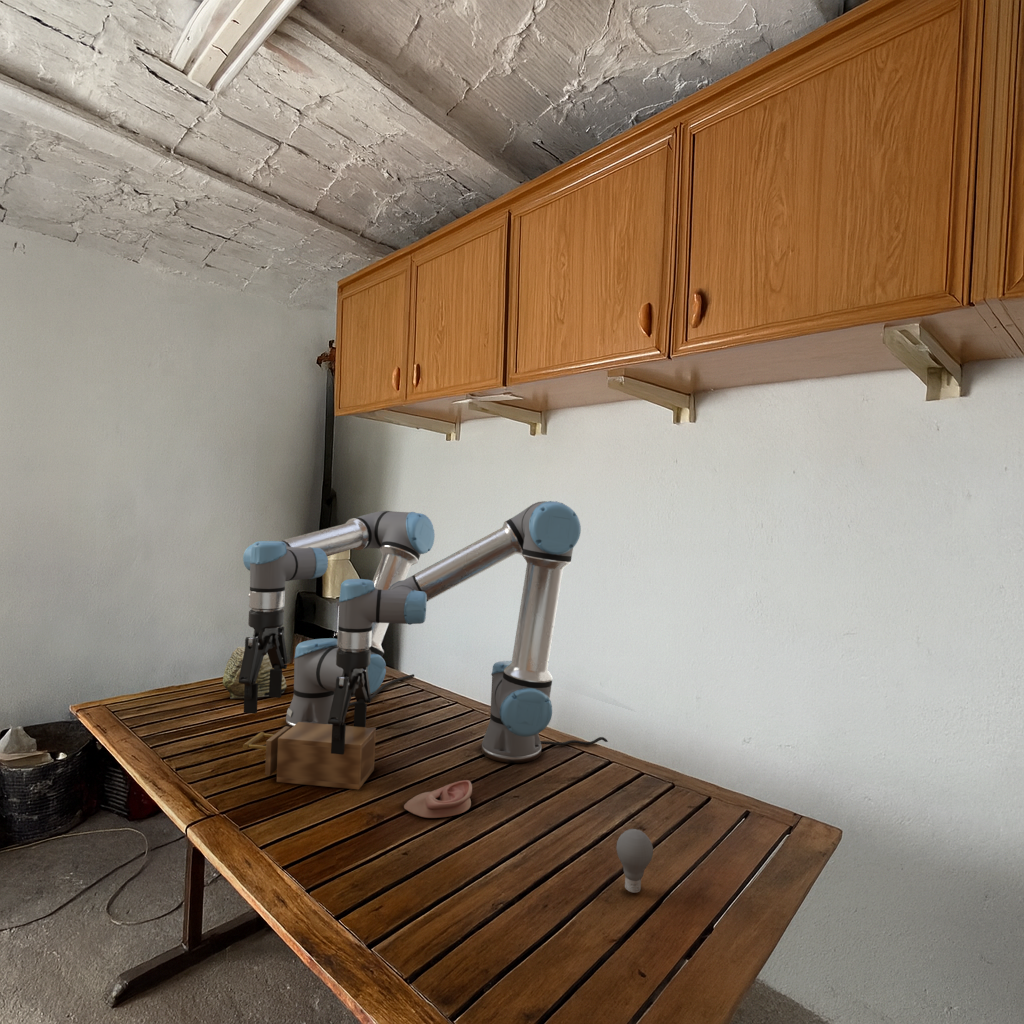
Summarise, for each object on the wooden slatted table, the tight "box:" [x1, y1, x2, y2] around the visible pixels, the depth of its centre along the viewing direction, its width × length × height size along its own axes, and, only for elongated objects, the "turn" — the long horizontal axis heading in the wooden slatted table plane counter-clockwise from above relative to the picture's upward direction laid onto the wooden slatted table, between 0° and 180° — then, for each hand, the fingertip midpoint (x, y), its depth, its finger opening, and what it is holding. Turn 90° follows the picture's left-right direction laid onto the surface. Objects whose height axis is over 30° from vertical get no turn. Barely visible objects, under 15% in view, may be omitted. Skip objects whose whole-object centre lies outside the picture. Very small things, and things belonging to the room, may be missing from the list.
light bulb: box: [615, 828, 654, 894], centre depth 106 cm, size 6×6×10 cm
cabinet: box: [276, 722, 377, 790], centre depth 144 cm, size 19×10×10 cm, turn 84°
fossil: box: [222, 646, 288, 699], centre depth 198 cm, size 9×18×15 cm, turn 132°
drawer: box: [242, 725, 290, 776], centre depth 144 cm, size 23×9×8 cm, turn 84°
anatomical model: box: [403, 779, 473, 819], centre depth 132 cm, size 13×4×12 cm
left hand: (263, 704), depth 145 cm, fingers open, 11 cm apart
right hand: (348, 741), depth 143 cm, fingers open, 13 cm apart
